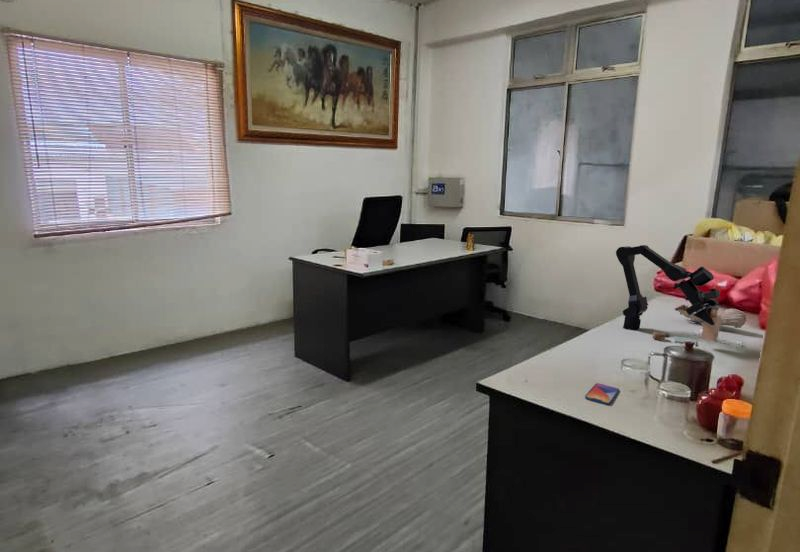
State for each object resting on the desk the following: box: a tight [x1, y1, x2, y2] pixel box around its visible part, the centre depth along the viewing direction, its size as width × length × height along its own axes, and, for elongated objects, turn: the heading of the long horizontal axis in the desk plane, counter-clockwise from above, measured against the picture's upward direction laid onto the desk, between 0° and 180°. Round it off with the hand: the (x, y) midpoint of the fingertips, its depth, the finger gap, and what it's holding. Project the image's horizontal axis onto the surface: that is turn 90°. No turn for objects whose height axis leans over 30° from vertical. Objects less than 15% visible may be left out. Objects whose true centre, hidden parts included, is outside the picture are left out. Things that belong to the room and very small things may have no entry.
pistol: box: [691, 328, 744, 348], centre depth 221 cm, size 2×20×11 cm
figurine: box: [674, 304, 747, 329], centre depth 241 cm, size 12×12×30 cm
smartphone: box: [584, 383, 620, 406], centre depth 154 cm, size 7×15×1 cm, turn 145°
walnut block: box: [652, 331, 666, 342], centre depth 216 cm, size 4×4×3 cm
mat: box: [673, 335, 697, 346], centre depth 214 cm, size 8×8×1 cm
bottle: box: [701, 305, 721, 342], centre depth 204 cm, size 5×5×14 cm
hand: (715, 323), depth 203 cm, fingers closed on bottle, 5 cm apart
